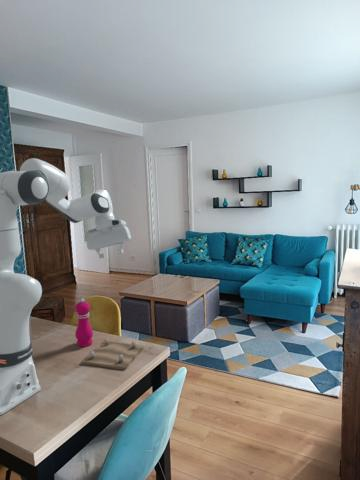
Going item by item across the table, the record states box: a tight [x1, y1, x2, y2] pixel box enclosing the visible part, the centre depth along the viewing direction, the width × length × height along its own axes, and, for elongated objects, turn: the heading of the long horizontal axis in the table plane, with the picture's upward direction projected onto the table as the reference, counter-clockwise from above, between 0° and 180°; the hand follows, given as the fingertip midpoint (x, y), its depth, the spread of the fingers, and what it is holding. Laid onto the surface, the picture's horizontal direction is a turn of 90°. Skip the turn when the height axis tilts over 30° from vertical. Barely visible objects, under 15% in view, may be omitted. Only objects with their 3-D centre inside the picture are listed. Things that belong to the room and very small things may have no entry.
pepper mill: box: [74, 298, 94, 348], centre depth 145 cm, size 7×7×20 cm
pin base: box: [80, 337, 144, 371], centre depth 135 cm, size 18×18×4 cm
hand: (111, 255), depth 153 cm, fingers open, 8 cm apart
